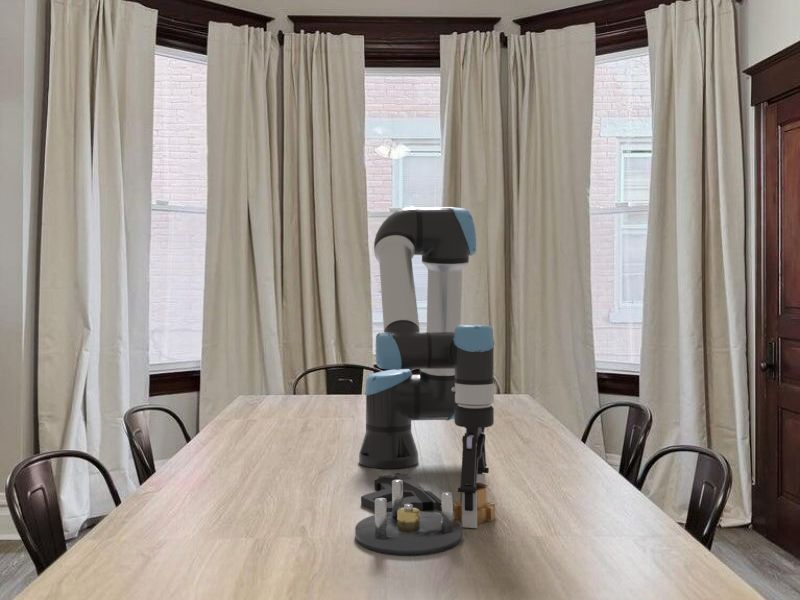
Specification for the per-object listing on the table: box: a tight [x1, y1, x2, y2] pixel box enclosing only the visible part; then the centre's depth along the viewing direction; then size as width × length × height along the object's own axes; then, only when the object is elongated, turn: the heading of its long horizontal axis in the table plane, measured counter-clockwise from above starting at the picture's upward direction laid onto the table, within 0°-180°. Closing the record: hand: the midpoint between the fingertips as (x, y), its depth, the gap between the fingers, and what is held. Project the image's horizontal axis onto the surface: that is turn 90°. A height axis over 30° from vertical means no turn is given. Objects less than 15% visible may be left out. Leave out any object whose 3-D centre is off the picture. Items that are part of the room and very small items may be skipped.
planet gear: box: [453, 483, 496, 525], centre depth 136 cm, size 8×8×6 cm
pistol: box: [360, 472, 442, 512], centre depth 150 cm, size 2×26×15 cm
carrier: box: [354, 480, 463, 557], centre depth 126 cm, size 19×19×8 cm
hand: (474, 516), depth 136 cm, fingers open, 12 cm apart
